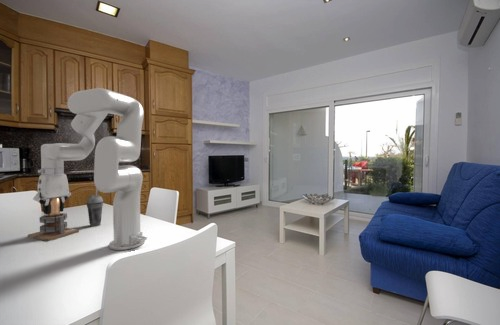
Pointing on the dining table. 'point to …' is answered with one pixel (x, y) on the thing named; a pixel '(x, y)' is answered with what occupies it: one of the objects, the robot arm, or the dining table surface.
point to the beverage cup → (95, 209)
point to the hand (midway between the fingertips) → (53, 212)
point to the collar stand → (53, 228)
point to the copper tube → (54, 210)
